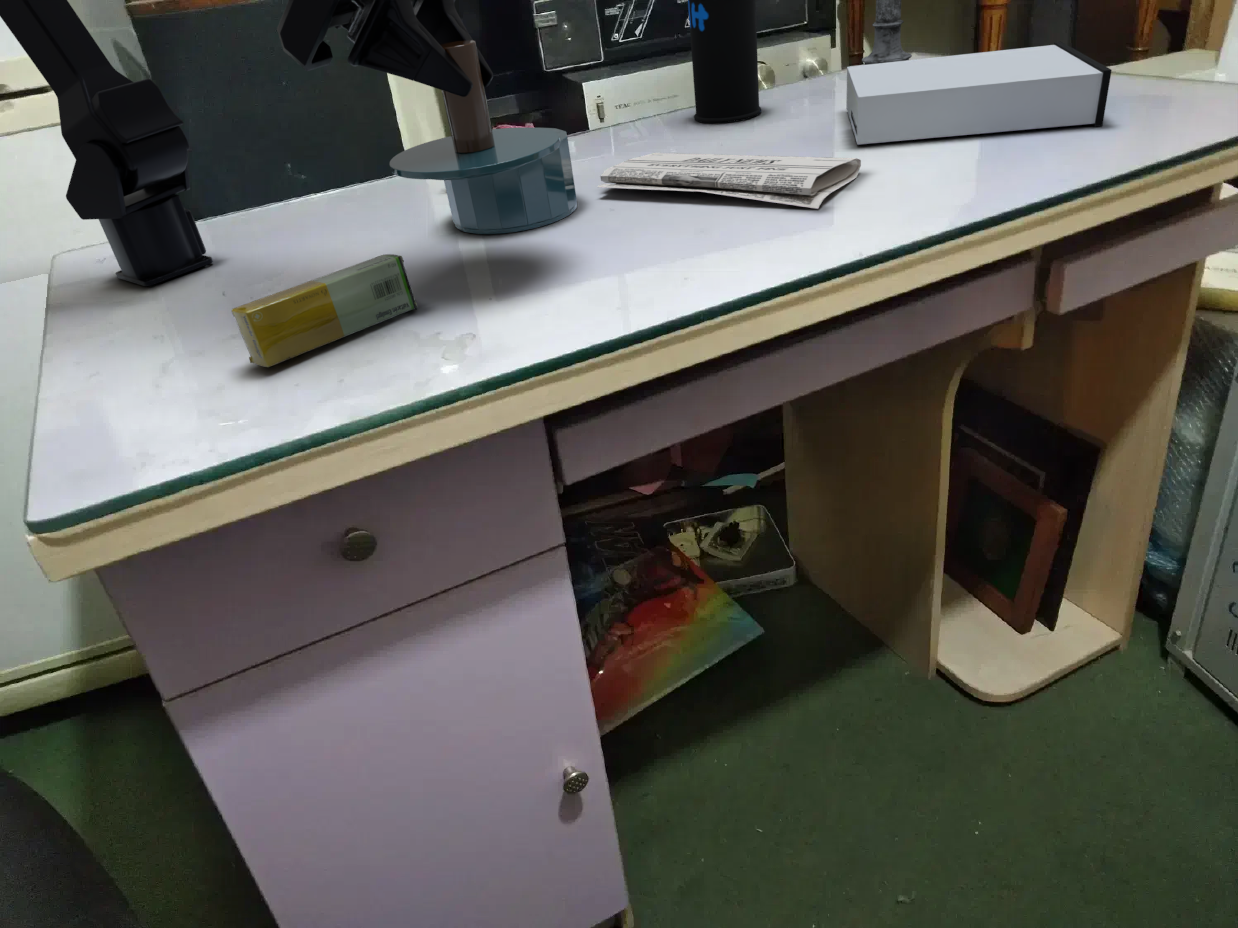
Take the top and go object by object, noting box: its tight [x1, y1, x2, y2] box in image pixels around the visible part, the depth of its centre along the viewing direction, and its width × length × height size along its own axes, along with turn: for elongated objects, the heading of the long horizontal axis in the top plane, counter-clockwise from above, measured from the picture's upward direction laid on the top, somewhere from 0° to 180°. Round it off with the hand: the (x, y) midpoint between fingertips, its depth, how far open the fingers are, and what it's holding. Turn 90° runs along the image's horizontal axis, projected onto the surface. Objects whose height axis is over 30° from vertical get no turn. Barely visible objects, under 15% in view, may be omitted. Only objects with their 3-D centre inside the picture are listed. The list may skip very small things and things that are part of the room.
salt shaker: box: [861, 0, 913, 65], centre depth 106 cm, size 6×6×12 cm
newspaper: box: [597, 152, 862, 210], centre depth 81 cm, size 23×12×2 cm, turn 54°
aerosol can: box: [687, 0, 762, 124], centre depth 102 cm, size 8×8×20 cm
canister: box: [443, 127, 578, 235], centre depth 80 cm, size 12×12×6 cm
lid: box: [389, 39, 560, 181], centre depth 63 cm, size 13×13×8 cm
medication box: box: [231, 253, 418, 368], centre depth 60 cm, size 12×3×4 cm, turn 135°
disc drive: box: [845, 41, 1113, 146], centre depth 90 cm, size 18×22×5 cm
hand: (479, 86), depth 61 cm, fingers closed on lid, 3 cm apart
